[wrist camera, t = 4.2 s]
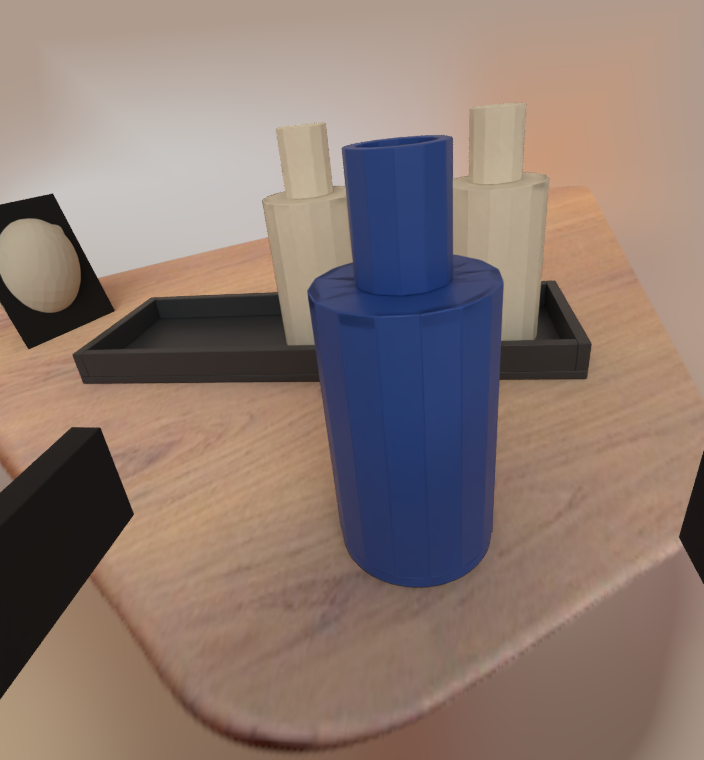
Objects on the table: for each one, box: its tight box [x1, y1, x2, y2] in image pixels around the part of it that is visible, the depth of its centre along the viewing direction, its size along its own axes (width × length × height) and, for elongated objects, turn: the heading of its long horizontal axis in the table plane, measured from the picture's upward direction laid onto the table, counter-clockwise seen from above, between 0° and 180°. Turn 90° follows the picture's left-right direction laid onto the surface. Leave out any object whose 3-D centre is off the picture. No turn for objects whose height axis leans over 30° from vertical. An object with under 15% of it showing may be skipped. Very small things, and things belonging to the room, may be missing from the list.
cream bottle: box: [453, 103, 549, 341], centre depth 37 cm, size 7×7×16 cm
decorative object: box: [0, 194, 115, 349], centre depth 52 cm, size 13×10×10 cm
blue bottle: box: [307, 135, 504, 587], centre depth 20 cm, size 7×7×16 cm
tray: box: [73, 281, 592, 383], centre depth 43 cm, size 38×13×3 cm, turn 81°
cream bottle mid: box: [262, 123, 353, 346], centre depth 39 cm, size 7×7×16 cm
